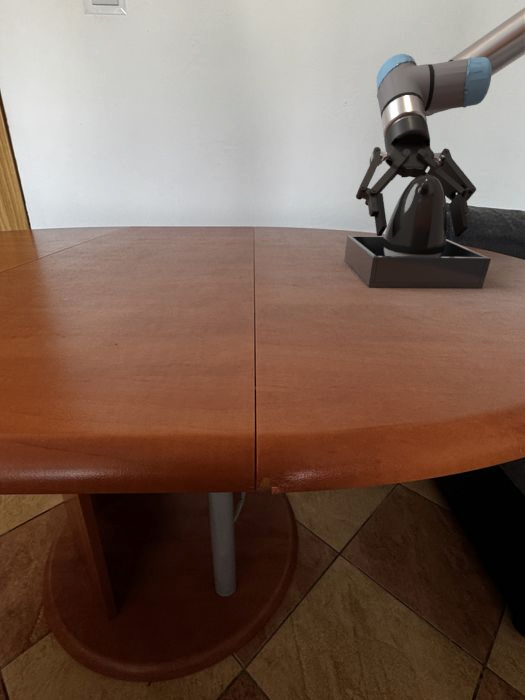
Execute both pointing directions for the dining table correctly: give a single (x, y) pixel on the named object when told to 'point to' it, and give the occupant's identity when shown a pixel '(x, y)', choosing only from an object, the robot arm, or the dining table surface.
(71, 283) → the dining table surface
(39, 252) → the dining table surface
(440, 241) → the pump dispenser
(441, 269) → the dark brown tray
